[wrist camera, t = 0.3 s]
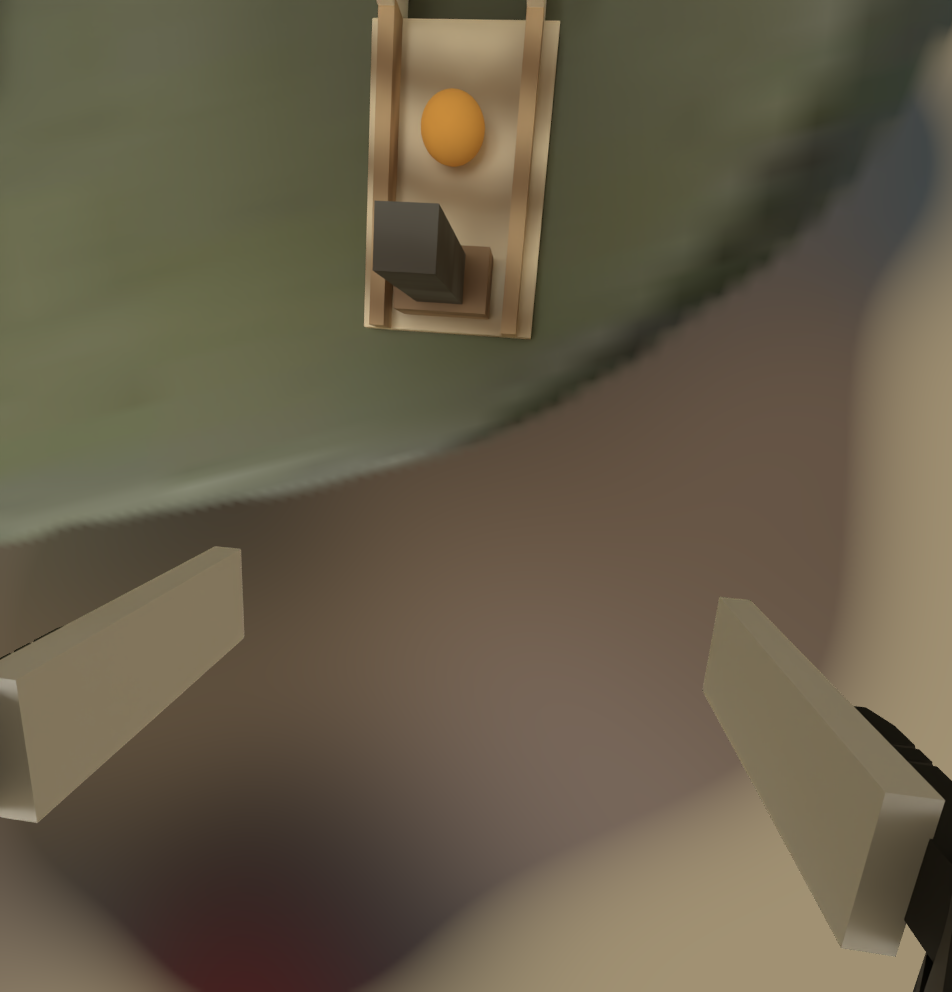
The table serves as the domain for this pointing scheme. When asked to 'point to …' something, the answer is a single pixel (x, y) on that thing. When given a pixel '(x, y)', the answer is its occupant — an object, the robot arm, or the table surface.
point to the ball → (452, 127)
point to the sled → (430, 262)
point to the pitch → (482, 181)
